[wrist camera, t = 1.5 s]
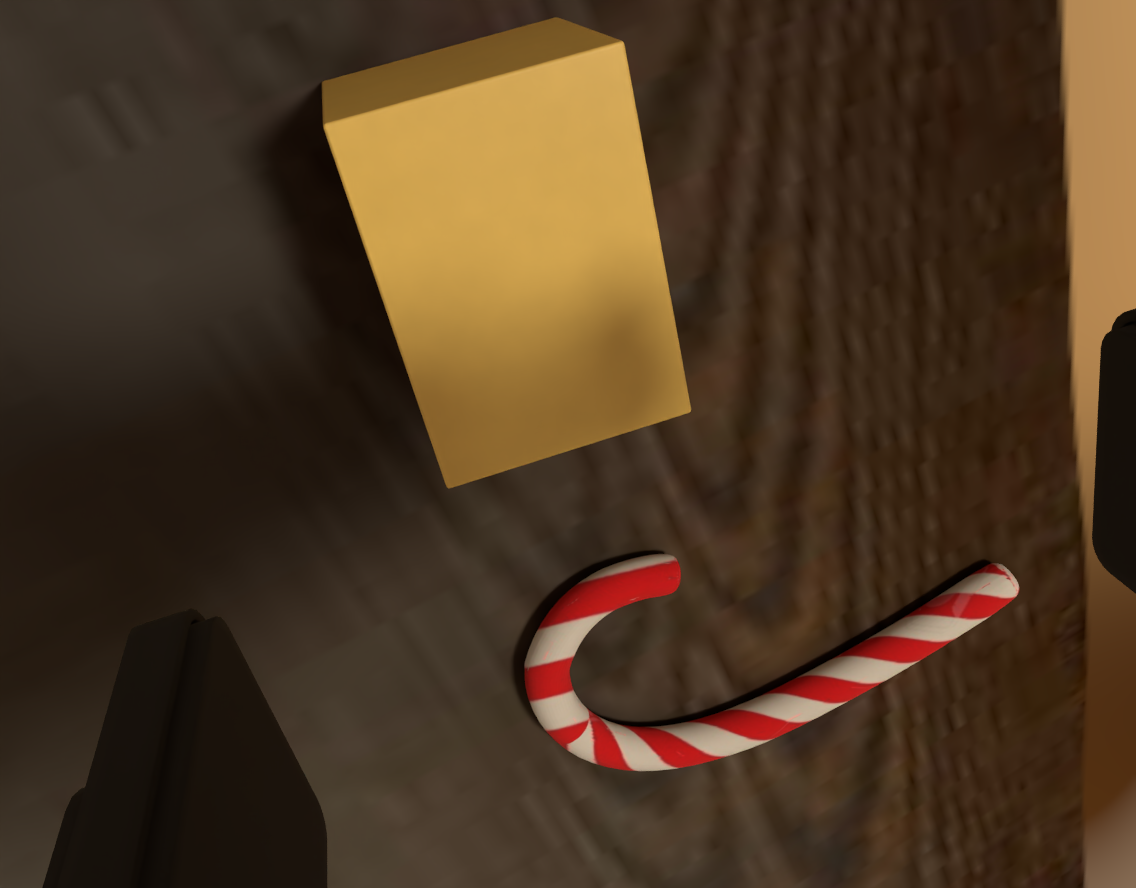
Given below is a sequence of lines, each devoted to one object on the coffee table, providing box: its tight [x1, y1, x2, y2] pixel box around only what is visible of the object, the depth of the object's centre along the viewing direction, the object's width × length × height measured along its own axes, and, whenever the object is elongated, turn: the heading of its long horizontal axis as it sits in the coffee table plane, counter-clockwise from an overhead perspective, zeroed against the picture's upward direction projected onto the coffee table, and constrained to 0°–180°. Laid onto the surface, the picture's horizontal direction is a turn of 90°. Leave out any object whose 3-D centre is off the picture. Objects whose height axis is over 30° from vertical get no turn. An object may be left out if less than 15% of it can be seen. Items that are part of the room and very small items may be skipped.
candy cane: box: [525, 554, 1019, 771], centre depth 28 cm, size 8×1×15 cm
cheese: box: [322, 17, 691, 488], centre depth 19 cm, size 7×5×5 cm
